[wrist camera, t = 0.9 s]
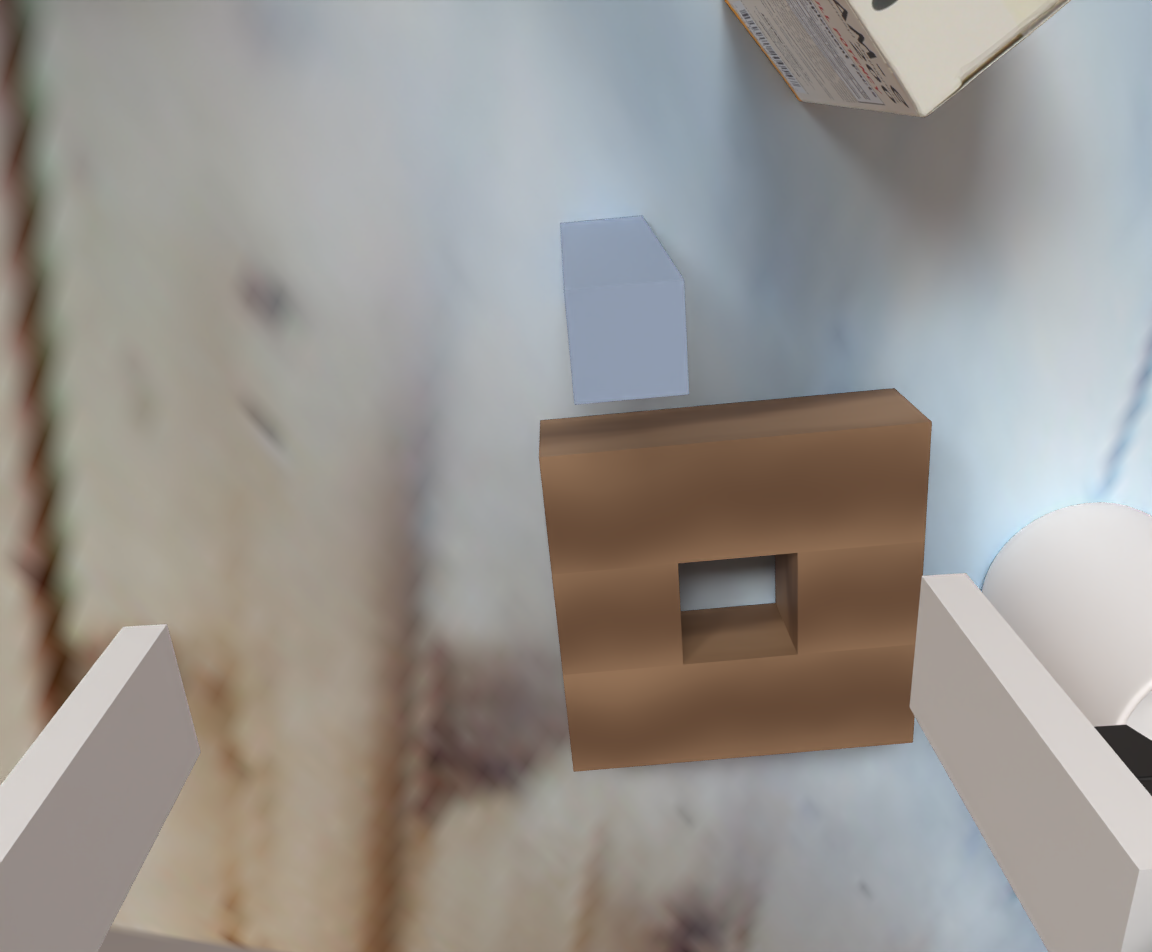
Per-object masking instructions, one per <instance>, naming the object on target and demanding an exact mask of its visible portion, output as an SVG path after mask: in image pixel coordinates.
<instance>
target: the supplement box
mask: <svg viewBox="0 0 1152 952" xmlns="http://www.w3.org/2000/svg"><path fill="white" fill-rule="evenodd" d="M1069 1H1071V0H725V2H726V3H727V4H728V6H729V7H730V8H731V9H732V11H733V12H734V14H735V15H736V16H737V18H738V19H739V20H740V22H741V23H742V24H743V25H744V27H745V28H746V29H747V31H748V32H749V33H750V35H751V36H752V37H753V39H754V40H755V41H756V43H757V44H758V45H759V47H760V48H761V49H762V51H763V52H764V53H765V54H766V56H767V57H768V59H769V60H770V61H771V63H772V64H773V65H774V67H775V68H776V69H777V71H778V72H779V73H780V75H781V76H782V77H783V79H784V80H785V81H786V83H787V84H788V86H789V87H790V88H791V90H792V92H793V93H794V94H795V96H796V98H797V99H798V100H799V101H801V102H808V103H816V104H824V105H831V106H839V107H848V108H855V109H862V110H870V111H877V112H885V113H893V114H901V115H908V116H915V117H921V118H922V117H926V116H928V115H930V114H931V113H933V112H934V111H935V110H936V109H937V108H939V107H940V106H941V105H943V104H944V103H945V102H946V101H948V100H949V99H950V98H952V97H953V96H954V95H955V94H957V93H958V92H959V91H960V90H962V89H963V88H964V87H965V86H966V85H967V84H969V83H970V82H971V81H972V80H973V79H975V78H976V77H977V76H978V75H979V74H981V73H982V72H983V71H984V70H985V69H987V68H988V67H989V66H990V65H991V64H993V63H994V62H995V61H997V60H998V59H999V58H1000V57H1002V56H1003V55H1004V54H1006V53H1007V52H1008V51H1009V50H1011V49H1012V48H1013V47H1015V46H1016V45H1017V44H1018V43H1020V42H1021V41H1022V40H1023V39H1025V38H1026V37H1027V36H1029V35H1030V34H1031V33H1032V32H1033V31H1034V30H1036V29H1037V28H1038V27H1039V26H1041V25H1042V24H1043V23H1044V22H1046V21H1047V20H1048V19H1049V18H1050V17H1052V16H1053V15H1054V14H1055V13H1056V12H1057V11H1059V10H1060V9H1061V8H1062V7H1063V6H1065V5H1066V4H1067V3H1068V2H1069Z"/></svg>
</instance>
